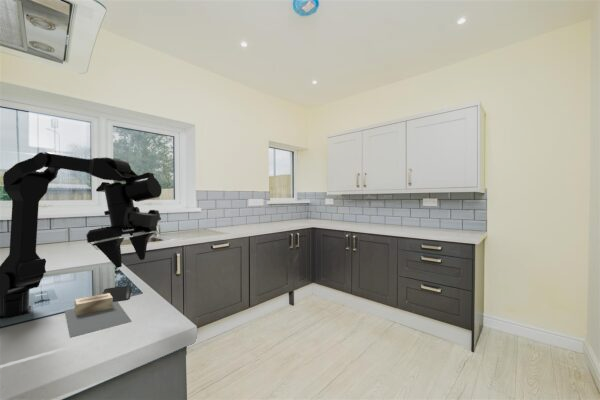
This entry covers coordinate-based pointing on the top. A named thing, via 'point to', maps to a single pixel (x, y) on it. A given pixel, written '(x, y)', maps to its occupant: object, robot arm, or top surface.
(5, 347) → the top surface
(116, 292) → the phone
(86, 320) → the mat
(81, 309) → the beige wooden block
